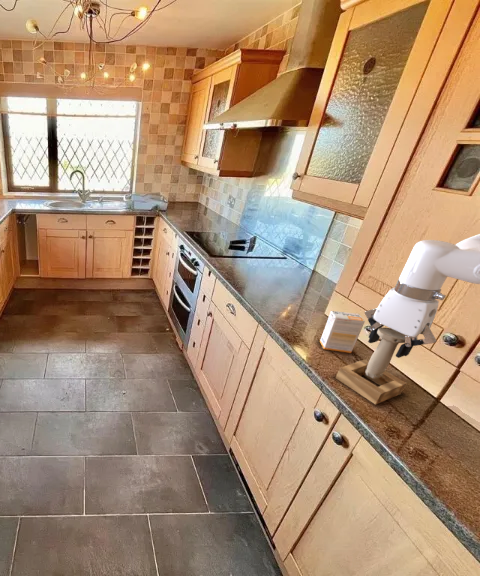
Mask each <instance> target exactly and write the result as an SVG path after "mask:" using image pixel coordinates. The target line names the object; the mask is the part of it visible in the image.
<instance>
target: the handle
mask: <svg viewBox="0 0 480 576" xmlns="http://www.w3.org/2000/svg"><path fill="white" fill-rule="evenodd" d="M377 334H378V335H379V336H380V339H381V340H380V342H379V343H378V345H377V346H376V348H375V350H373V351H374V352H373V353H372V355H370V358H369V360H368V361H369V362H368V365H367V369H366V371H365V373H366V375H367V376H369V377H371V378H373V379H376V378H378V379H379V378H380V377H381V375H382V374H383V373H384V371H386V370H387V368H388V367H389V366H390V363H391V360H392V358H393V356H394V354H395V351H396V349H397V347H398V346H399V344H404V343H405V335H404V334H402V333H400V332H398V331H395V330H393V329H391V328H389V327H382V328H379V329H378V331H377Z"/></svg>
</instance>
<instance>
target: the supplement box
mask: <svg viewBox="0 0 480 576" xmlns="http://www.w3.org/2000/svg"><path fill="white" fill-rule="evenodd" d="M365 323H366V319H364V318H363V316H362V315H360V314H359V313H354V312H344V311H337V310H330V312H329V315H328V317H327V321H326V323H325V327H324V328H323V332H322V335H321V337H320V340H319V343H320V345H321V347H322V349H323V350H326V351H334V352H340V353H347V354H352V352H353V350H354V348H355V346H356V343H357V341H358V338H359V336H360V334H361V331H362V330H363V327H364V324H365Z"/></svg>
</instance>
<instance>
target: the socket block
mask: <svg viewBox="0 0 480 576" xmlns="http://www.w3.org/2000/svg"><path fill="white" fill-rule="evenodd" d="M368 362H369V360H367V359H361V360H358V361H355V362H353V363H350V364H347V365H344V366H342V367H339V368H338V371H337V373H336V376H335V379H336V380H338V381H339V382H341V383H342V384H344V385H345V386H347V387H348V388H350V389H351V390H353V391H354V392H356V393H357V394H358V395H360V396H362V397H363V398H365V399H367V401H369V402H371V403H372V404H374V405H378V404H380V403H383V402H385V401H388V400H390V399H392V398H394V397H397V396H399V395H402V392H403V391H404V390H405V388H406V387H407V384H408V383H407V382H406V381H404V380H402V379H400V378H399V377H397V376H395V375H393V374H392V373H390V372H388V371H386V370H385V371H384V373H383V374H382V375H381V377H380V378H379V379H378V378H376V379H373V378H371V377H369V376H367V375H366V373H365V371H366V369H367V365H368ZM362 376H364V377H365V378H364V377H362ZM366 378H367V379H369V380H370V381H369V380H367V379H366ZM372 382H374V383H375V384H374V383H372ZM376 384H377V385H378V386H377V385H376Z"/></svg>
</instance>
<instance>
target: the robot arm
mask: <svg viewBox="0 0 480 576" xmlns="http://www.w3.org/2000/svg"><path fill="white" fill-rule="evenodd" d="M448 277H449V278H451V279H455V280H460V281H463V282H467V283H470V284H475V285H480V233H478V234H476V235H473V236H470V237H468V238H465V239H463V240H461V241H459V242H457V243H455V244H454V243H451V242H448V241H443V240H438V239H437V240H435V239H423V240H420V241H417V242H416V243H415V244H414V246H413V248H412V250H411V252H410V254H409V256H408V258H407V260H406V262H405V265H404V267H403V269H402V271H401V273H400V275H399V278H398V279H397V282H396V284H395V286H394V287H392V288H390V290H388V292H387V293H386V294H385V295H384V297H383V298H382V299H381V301H380V302H379V304H378V306H377V307H376V308H372V309H369V310H365V311H364V314H365V317H366V318H367V322H368V323H369V325H370V330H371V331H370V333H369V335H368V338H369V339H368V341H367V343H369V344H374V343H377V342H379V339H381V337H380V336H379V335H378V334H377V331H378V329H379V328H384V327H386V328H391V329H393V330H395V331H398V332H400V333H402V334H404V335H405V343H401V345H400V346H399V348H398V350H397V352H396V354H395V357H396V358H398V359H399V358H403V357H408V356H409V354H410V353H411V351H412V349H413V347H416V346H417V347H418V346H422V345H423V346H424V345H430V344H435V343H437V338H436V337H435V335H434V334H433V333H434V332H432V330H431V327H432V325H433V322H434V320H435V317H436V314H437V312H438V309H439V303H440V301H443V300H445V298H446V296H447V295H446V294H444V293H442V292H441V291H442V287H443V285H444V283H445V282H446V280H447V278H448ZM439 300H440V301H439ZM419 335H423V337H424V338H420V339H418V337H419Z"/></svg>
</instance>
